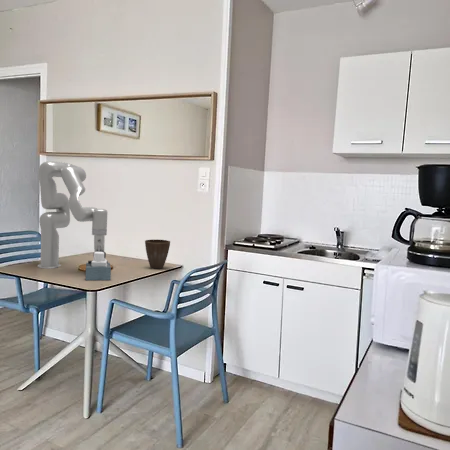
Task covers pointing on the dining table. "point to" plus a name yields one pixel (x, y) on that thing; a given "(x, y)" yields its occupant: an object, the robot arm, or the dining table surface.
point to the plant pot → (157, 252)
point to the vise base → (98, 272)
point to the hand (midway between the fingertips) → (97, 265)
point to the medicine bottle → (99, 259)
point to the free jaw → (91, 261)
